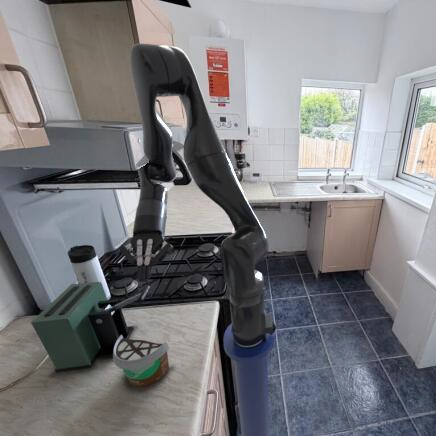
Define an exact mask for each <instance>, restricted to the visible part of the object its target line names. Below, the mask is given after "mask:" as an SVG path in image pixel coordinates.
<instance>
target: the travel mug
mask: <svg viewBox="0 0 436 436" xmlns="http://www.w3.org/2000/svg"><path fill="white" fill-rule="evenodd" d="M67 256H68V259H69V261H70V264H71V267H72V270H73V272H74V274H75V276H76V280H77V282H78V284H80V283H92V282H101V283H102V286H103V289H104V291H105V294H106V297H107V300H111V297H112V296H111V293H110V292H111V291H110V289H109V287H108V283H107V280H106V278H105V275H104V271H103V269H102V266H101V263H100V260H99V257H98V254H97V253H96V249H95V247H94V245H90V244H83V245H74V246H72V247H70V249H69V250H68V251H67Z"/></svg>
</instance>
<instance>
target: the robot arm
mask: <svg viewBox="0 0 436 436" xmlns="http://www.w3.org/2000/svg"><path fill="white" fill-rule="evenodd" d="M128 58H129V69H130V75H131V81H132V85H133V89H134V94H135V99H136V100H135V101H136V104H137V109H138V113H139V117H140V121H141V126H142V142H143V147H142V148H143V154H144V156H146V157H147V158H148V159H149V163H147V164H146V165H145V166H143V167H141V168H140V169H138V170H137V174H138V178H139V184H140V187H139V189H140V191H139V198H138V204H137V207H136V211H135V216H134V223H133V230H132V237H131V238H130V241H129V243H127V244H126V245H125V246H124V245H121V246H120V247H119V250H120V252H121V253H122V255H124V257H125V258H126V259H127V261H128V262H129V263H130V264H131V265H133V266H136V267H137V269H136V278H135V279H136V280H138V282H141V283H143V282H148V281H149V280H150V279H151V277H152V268H153V266H156V265H160V264H161V262H163V260H164V259H166V257H167V256H168V255H169V254H170V253H171V251H172V250H173V249H174V246H173V245H172V244H171V243H169V242H167V239H166V237H165V234H166V227H167V226H166V224H167V219H168V216H167V215H168V211H167V206H168V195H169V192H168V188H167V187H166V186H165V185H162V184H160V183H157V182H161V183H172V182H173V181H175V179H176V177H177V167H176V163H175V160H174V158H173V148H174V135H173V131H172V129H171V126H169V123H168V122H167V121H166V119H164V118H163V116H162V114H161V113H160V112H159V110H158V108H157V98H166V97H178V98H179V99H180V102H181V103H182V105H183V108H184V112H185V115H186V130H185V137H184V142H183V152H182V153H183V160H184V162H185V165H186V167H187V169H188V171H189V173H190V175H191V178H192V179H193V182H194V184H195V185H196V187H197V188H198V189H199V190H200V192H202V193H203V194H204V195H205V196H206V197H207V198H209V199H210V200H211V201H212V202H213V203H215V204H216V205H217V206H218V207H219V208H221V209H222V210H223V211H224V213H225V214H226V215H227V217H228V219H229V220H230V222H231V224H232V227H233V229H234V231H235V232H233V233H231V234H230V235H228V236H227V237H225V239H223V240H222V242H221V244H220V248H219V255H220V256H219V257H220V263H221V268H222V274H223V279H224V282H225V284H226V286H227V288H228V289H227V290H228V298H229V299H228V301H229V309H230V319H231V323H232V329H231V333H232V330H233V341H234V343H235V344H236V345H237V346H238V347H240V348H244V349H250V348H254V347H256V346H258V345H260V344H261V343H262V342H265V341H266V334H270V335H272V334H273V333H274V332H275V333H276V330H277V325H276V324H275V323H274V322H273V319H272V314H266V303H265V300H266V299H265V298H266V297H265V278H264V277H265V276H263V273H262V272H261V271H259V270H257V269H255V266H256V264H258V263H259V262H260V261H261V260H262V259H263V258H264V257H265V256H266V254H267V253H268V251H269V245H270V244H269V239H268V236H267V234H266V232H265V230H264V228H263V227H262V225H261V223H260V221H259V219H258V217H257V216H256V214H255V212H254V210H253V209H252V207H251V205H250V203H249V200H248V199H247V197H246V194H245V192H244V190H243V189H242V186H241V184H240V182H239V180H238V178H237V175H236V172H235V171H234V167H233V165H232V163H231V160H230V158H229V156H228V153H227V152H226V149H225V147H224V145H223V143H222V140H221V139H220V136H219V133H218V132H217V130H216V127H215V125H214V122H213V121H212V118H211V115H210V113H209V109H208V107H207V104H206V101H205V98H204V95H203V92H202V90H201V87H200V84H199V81H198V78H197V75H196V72H195V70H194V67H193V65H192V63H191V61H190V59H189V57H188V55H187V54H186V53H185V52H184V51H183V49H181V48H180V47H177V46H173V45H162V44H152V43H135V44H133V45H132V46H131V47H130V49H129V57H128ZM133 251H135V252H136V256H135V255H134V253H133Z"/></svg>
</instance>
